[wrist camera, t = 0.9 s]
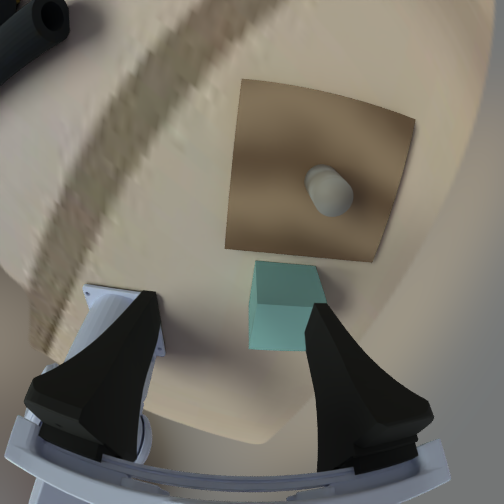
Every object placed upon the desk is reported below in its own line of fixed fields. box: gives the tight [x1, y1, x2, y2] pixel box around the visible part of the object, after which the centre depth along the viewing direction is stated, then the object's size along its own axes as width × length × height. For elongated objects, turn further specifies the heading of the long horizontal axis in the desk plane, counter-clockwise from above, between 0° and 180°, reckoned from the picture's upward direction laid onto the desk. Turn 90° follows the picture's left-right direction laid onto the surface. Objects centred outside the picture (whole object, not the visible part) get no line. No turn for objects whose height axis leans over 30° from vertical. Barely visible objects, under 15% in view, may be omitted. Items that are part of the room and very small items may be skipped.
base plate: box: [225, 79, 415, 262], centre depth 17 cm, size 12×12×4 cm
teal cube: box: [249, 261, 327, 351], centre depth 22 cm, size 5×5×5 cm
